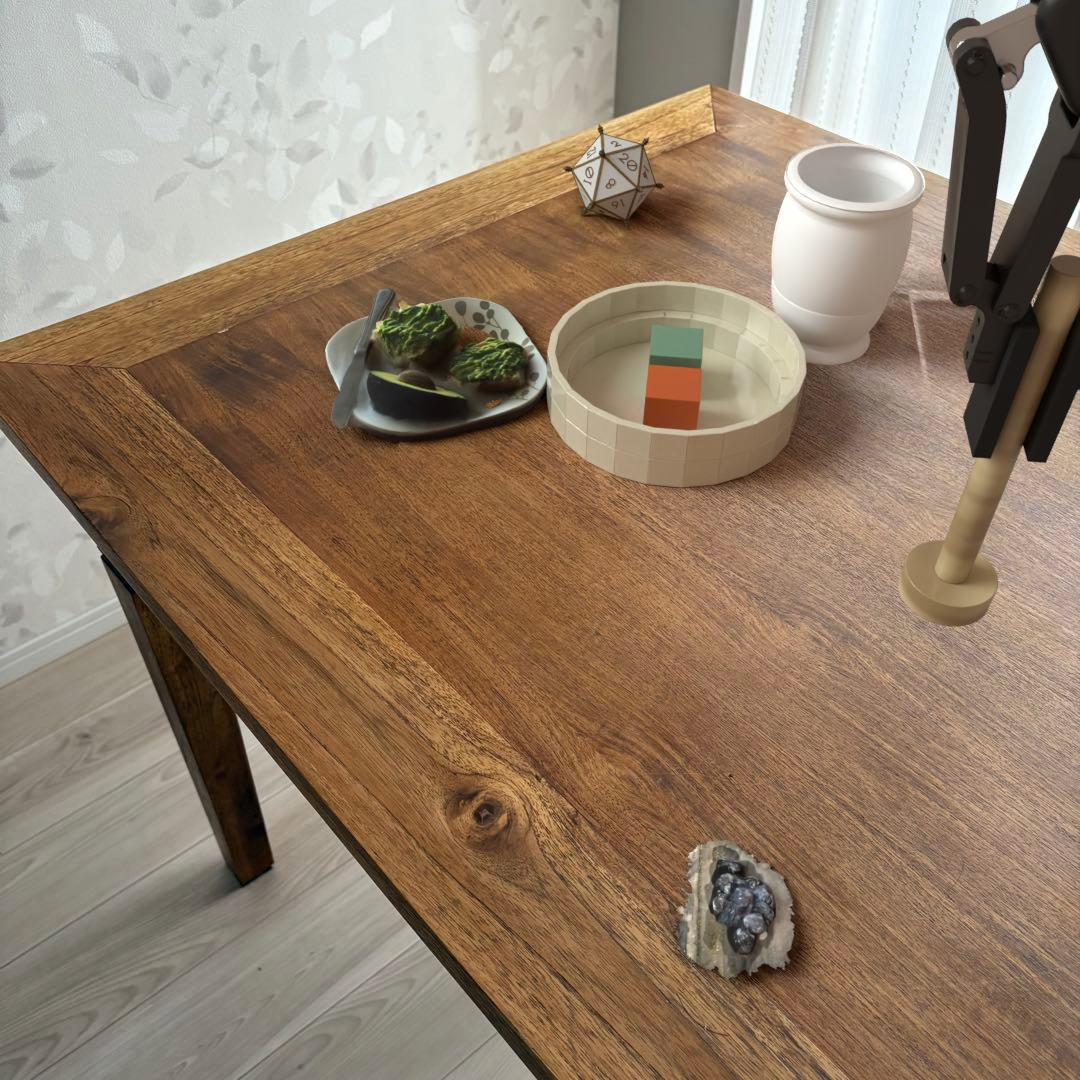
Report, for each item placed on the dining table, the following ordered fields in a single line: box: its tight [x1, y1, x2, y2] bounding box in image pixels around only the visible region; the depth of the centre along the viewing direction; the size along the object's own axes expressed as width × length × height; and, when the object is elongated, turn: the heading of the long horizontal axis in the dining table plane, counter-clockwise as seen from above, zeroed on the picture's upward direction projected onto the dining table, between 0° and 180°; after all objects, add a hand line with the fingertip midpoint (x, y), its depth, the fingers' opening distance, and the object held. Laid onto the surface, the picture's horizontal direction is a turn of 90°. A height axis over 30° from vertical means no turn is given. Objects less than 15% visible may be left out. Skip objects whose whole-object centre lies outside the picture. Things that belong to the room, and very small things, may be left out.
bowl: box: [546, 280, 808, 488], centre depth 85 cm, size 19×19×6 cm
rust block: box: [643, 365, 702, 430], centre depth 83 cm, size 4×4×4 cm
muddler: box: [897, 254, 1080, 628], centre depth 48 cm, size 4×4×18 cm
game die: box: [562, 124, 666, 230], centre depth 105 cm, size 9×8×10 cm
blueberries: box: [675, 838, 795, 980], centre depth 58 cm, size 7×8×2 cm
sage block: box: [649, 325, 703, 369], centre depth 87 cm, size 4×4×4 cm
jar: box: [770, 142, 926, 366], centre depth 88 cm, size 11×10×15 cm
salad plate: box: [324, 287, 547, 444], centre depth 89 cm, size 19×18×5 cm
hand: (1003, 438), depth 48 cm, fingers closed on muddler, 2 cm apart
